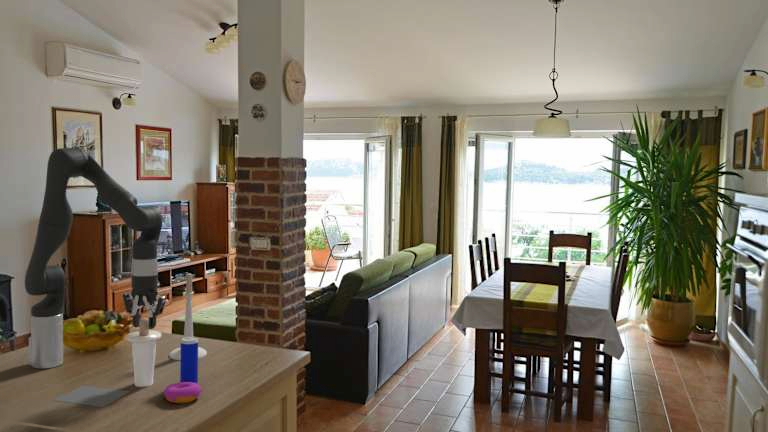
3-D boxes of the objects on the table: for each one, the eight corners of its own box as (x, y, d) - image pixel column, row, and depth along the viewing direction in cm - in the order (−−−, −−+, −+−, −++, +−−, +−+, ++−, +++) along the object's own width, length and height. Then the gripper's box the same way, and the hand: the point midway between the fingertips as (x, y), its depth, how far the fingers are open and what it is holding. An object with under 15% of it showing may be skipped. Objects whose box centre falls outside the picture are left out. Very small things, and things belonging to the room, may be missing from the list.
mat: (53, 402, 170) (53, 400, 170) (83, 387, 182) (83, 385, 182) (102, 409, 167) (102, 407, 167) (129, 393, 179) (129, 391, 179)
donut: (203, 392, 182) (204, 378, 181) (197, 406, 172) (197, 390, 171) (168, 393, 181) (168, 378, 180) (159, 406, 171) (160, 391, 170)
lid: (119, 341, 180) (119, 321, 180) (139, 332, 190) (139, 313, 190) (148, 344, 178) (149, 324, 178) (167, 335, 188) (167, 316, 188)
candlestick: (200, 361, 210) (201, 276, 207) (163, 359, 210) (164, 275, 208) (211, 350, 223) (212, 270, 220) (177, 348, 223) (177, 269, 220)
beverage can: (201, 384, 188) (201, 337, 187) (190, 389, 183) (191, 341, 182) (187, 381, 190) (187, 335, 189) (176, 387, 185) (177, 339, 184)
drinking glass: (147, 390, 181) (147, 342, 180) (127, 388, 183) (127, 340, 182) (160, 382, 188) (160, 336, 187) (140, 380, 189) (140, 334, 188)
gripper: (116, 273, 180) (115, 328, 182) (158, 276, 177) (158, 333, 179) (131, 269, 188) (131, 322, 189) (172, 272, 185) (172, 326, 186)
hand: (144, 327), depth 184 cm, fingers open, 4 cm apart
